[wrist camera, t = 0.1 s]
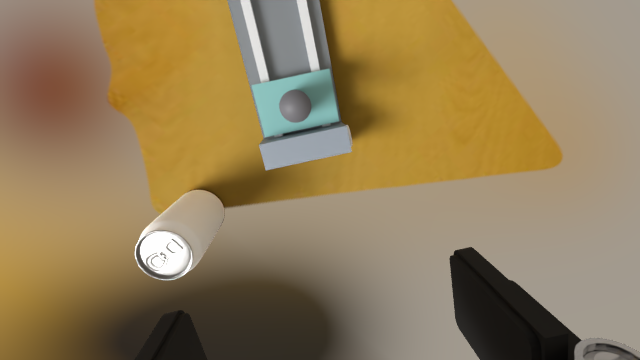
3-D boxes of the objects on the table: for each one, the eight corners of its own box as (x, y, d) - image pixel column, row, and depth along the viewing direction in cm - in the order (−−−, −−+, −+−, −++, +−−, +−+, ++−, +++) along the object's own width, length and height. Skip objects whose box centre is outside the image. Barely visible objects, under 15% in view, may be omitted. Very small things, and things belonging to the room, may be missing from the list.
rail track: (216, -49, 33) (199, -78, 28) (308, -69, 33) (310, -102, 28) (270, 159, 40) (265, 170, 35) (347, 142, 40) (354, 151, 35)
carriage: (252, 85, 35) (239, 83, 27) (328, 69, 35) (336, 62, 27) (265, 136, 37) (256, 147, 29) (338, 120, 37) (348, 127, 29)
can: (167, 209, 41) (115, 254, 30) (200, 179, 40) (160, 213, 29) (202, 241, 43) (167, 295, 31) (235, 212, 42) (211, 257, 31)
